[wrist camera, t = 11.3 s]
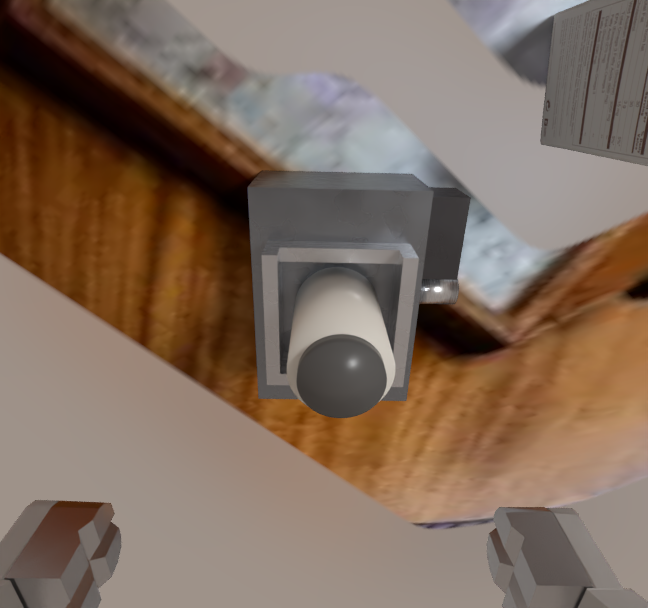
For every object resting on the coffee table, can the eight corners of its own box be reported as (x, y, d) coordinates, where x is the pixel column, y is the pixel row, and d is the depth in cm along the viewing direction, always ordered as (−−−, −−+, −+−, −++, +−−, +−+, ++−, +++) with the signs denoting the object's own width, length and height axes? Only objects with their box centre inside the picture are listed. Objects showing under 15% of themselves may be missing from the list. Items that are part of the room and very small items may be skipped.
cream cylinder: (380, 268, 25) (403, 334, 18) (374, 342, 27) (392, 427, 20) (295, 266, 25) (284, 331, 18) (295, 340, 27) (285, 425, 20)
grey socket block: (457, 174, 29) (506, 202, 21) (430, 354, 35) (461, 426, 27) (261, 170, 28) (239, 196, 21) (268, 351, 34) (253, 423, 27)
